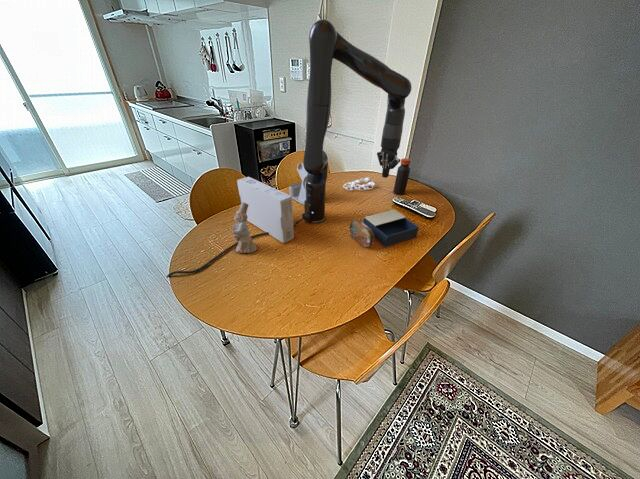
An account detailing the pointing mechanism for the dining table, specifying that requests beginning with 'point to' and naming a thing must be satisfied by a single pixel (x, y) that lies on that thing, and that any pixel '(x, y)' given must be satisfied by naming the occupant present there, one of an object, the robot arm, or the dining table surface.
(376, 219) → the carton flap
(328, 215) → the dining table surface
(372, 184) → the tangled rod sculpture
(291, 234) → the packaging
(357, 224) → the tin
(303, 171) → the phone holder
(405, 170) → the bottle
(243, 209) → the figurine
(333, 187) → the dining table surface
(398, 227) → the carton
